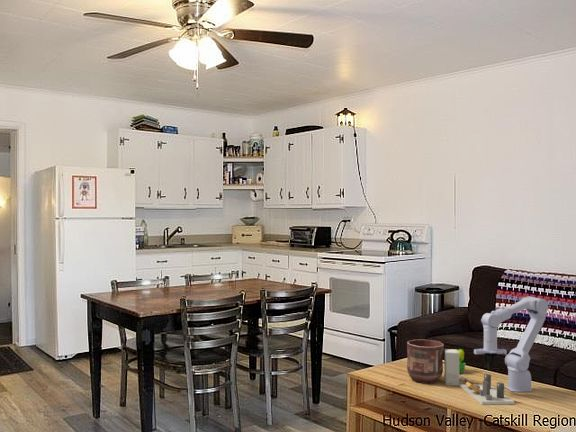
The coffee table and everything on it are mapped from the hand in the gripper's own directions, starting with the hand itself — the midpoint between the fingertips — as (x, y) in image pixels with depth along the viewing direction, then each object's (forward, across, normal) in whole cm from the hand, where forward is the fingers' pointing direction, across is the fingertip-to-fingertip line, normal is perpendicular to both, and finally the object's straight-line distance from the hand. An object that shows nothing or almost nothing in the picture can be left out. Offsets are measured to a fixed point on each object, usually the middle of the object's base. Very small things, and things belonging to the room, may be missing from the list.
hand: (490, 369), depth 246 cm
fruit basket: (+10, -3, +34) cm, 36 cm away
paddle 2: (+8, -7, -12) cm, 16 cm away
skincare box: (+10, -13, +13) cm, 21 cm away
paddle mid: (+8, -7, -5) cm, 12 cm away
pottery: (+10, -24, +19) cm, 32 cm away
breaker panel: (+10, -4, -5) cm, 12 cm away
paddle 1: (+8, -7, +2) cm, 11 cm away
